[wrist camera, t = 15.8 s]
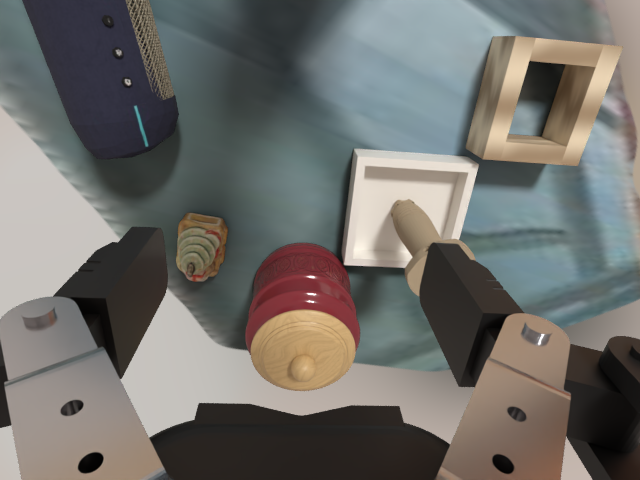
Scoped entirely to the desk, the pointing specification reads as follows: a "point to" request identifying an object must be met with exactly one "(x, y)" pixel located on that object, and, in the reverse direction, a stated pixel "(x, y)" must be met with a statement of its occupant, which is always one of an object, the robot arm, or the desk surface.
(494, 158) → the socket block
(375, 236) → the tray
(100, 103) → the portable speaker
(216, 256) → the ornament
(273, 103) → the desk surface
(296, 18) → the desk surface
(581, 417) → the robot arm
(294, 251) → the canister
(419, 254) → the handle
